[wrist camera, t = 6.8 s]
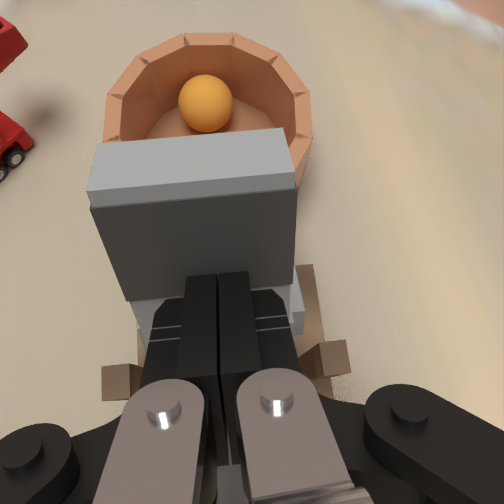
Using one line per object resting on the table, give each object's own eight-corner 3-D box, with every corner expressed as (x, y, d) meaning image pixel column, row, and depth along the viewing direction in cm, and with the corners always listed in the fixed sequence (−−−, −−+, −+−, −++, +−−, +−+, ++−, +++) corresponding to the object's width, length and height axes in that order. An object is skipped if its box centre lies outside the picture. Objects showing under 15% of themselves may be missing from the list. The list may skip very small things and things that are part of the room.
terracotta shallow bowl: (96, 195, 34) (62, 151, 27) (186, 69, 37) (174, 5, 31) (248, 276, 32) (248, 249, 26) (328, 136, 35) (345, 82, 29)
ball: (162, 81, 31) (172, 119, 35) (196, 117, 30) (203, 152, 34) (208, 53, 32) (213, 92, 36) (243, 86, 31) (245, 124, 35)
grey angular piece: (347, 614, 14) (493, 500, 5) (150, 641, 14) (-115, 578, 4) (270, 219, 27) (268, -28, 17) (166, 230, 27) (106, -16, 17)
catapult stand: (342, 486, 28) (431, 571, 14) (148, 511, 27) (54, 622, 14) (309, 269, 32) (354, 180, 19) (140, 287, 32) (62, 208, 18)
